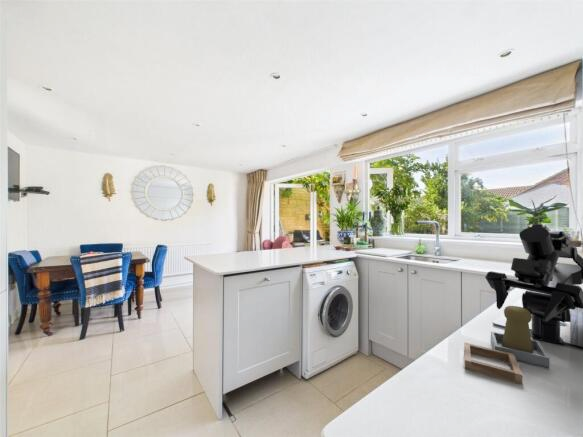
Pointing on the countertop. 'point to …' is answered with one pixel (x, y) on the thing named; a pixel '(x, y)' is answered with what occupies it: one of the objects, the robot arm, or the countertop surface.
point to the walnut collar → (489, 369)
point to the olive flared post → (517, 329)
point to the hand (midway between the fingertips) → (519, 314)
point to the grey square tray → (535, 358)
